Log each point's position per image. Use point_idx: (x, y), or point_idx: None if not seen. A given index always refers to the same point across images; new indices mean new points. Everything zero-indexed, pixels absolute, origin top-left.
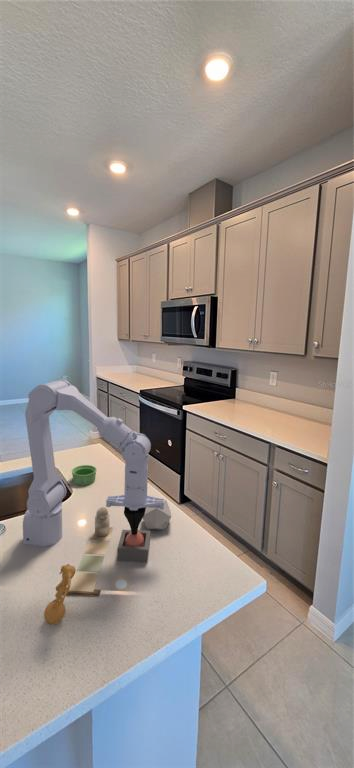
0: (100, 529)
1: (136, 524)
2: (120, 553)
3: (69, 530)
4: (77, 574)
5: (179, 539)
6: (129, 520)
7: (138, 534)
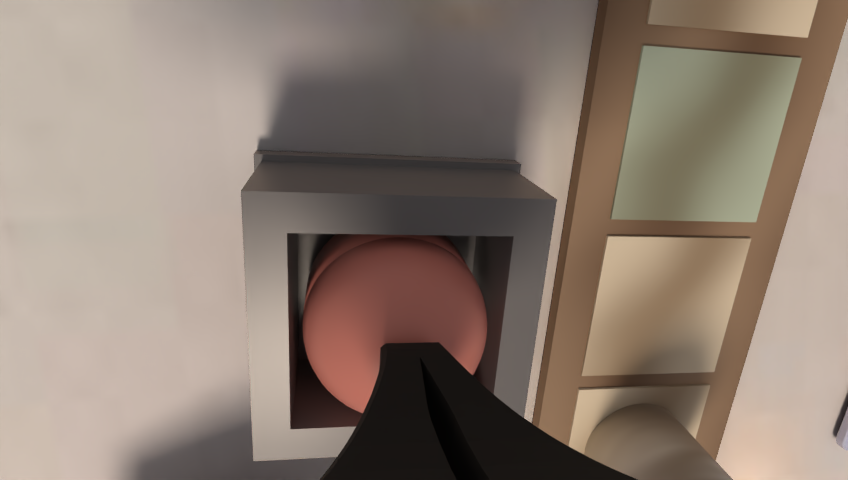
0: (680, 446)
1: (405, 413)
2: (510, 185)
3: (818, 451)
4: (799, 16)
5: (25, 452)
6: (540, 445)
7: (364, 363)
